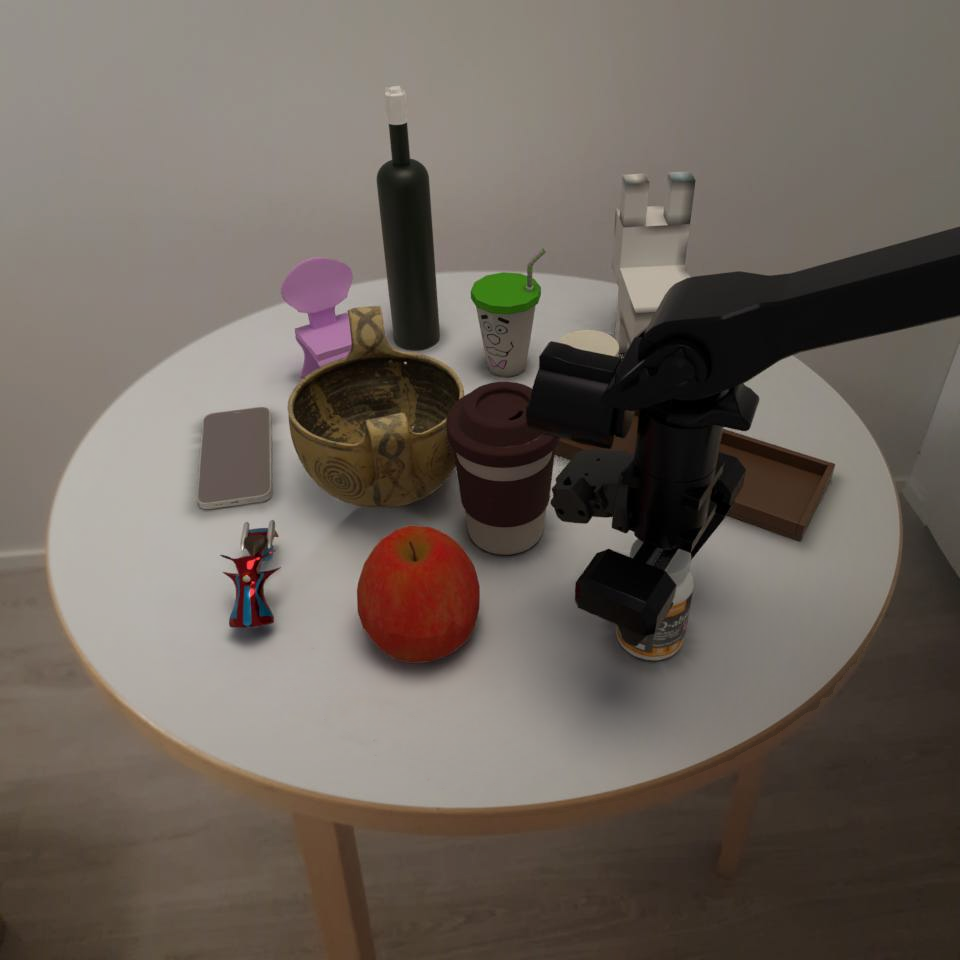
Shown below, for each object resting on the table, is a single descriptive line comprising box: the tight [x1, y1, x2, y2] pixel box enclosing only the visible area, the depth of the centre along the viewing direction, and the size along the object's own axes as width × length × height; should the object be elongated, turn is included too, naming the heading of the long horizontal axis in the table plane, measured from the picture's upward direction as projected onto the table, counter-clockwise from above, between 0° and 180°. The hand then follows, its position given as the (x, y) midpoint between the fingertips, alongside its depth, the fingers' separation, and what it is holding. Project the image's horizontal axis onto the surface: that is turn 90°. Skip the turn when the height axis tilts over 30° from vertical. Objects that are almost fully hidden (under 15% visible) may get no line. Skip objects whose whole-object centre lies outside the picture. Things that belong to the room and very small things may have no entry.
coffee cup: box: [446, 381, 560, 556], centre depth 82 cm, size 10×10×15 cm
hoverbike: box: [219, 519, 282, 629], centre depth 80 cm, size 5×12×6 cm, turn 5°
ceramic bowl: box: [287, 305, 465, 509], centre depth 88 cm, size 22×17×15 cm
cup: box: [470, 248, 546, 378], centre depth 103 cm, size 8×8×15 cm
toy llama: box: [611, 170, 697, 355], centre depth 102 cm, size 8×18×20 cm, turn 3°
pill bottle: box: [615, 538, 695, 661], centre depth 74 cm, size 6×6×10 cm
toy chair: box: [280, 256, 354, 378], centre depth 101 cm, size 8×9×15 cm
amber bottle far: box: [557, 329, 620, 444], centre depth 95 cm, size 6×6×10 cm
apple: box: [356, 524, 481, 664], centre depth 75 cm, size 10×10×10 cm
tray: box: [554, 410, 836, 542], centre depth 93 cm, size 30×10×2 cm, turn 58°
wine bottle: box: [376, 84, 441, 351], centre depth 103 cm, size 6×6×30 cm
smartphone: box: [196, 406, 273, 510], centre depth 96 cm, size 7×1×15 cm
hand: (654, 604), depth 74 cm, fingers open, 9 cm apart
